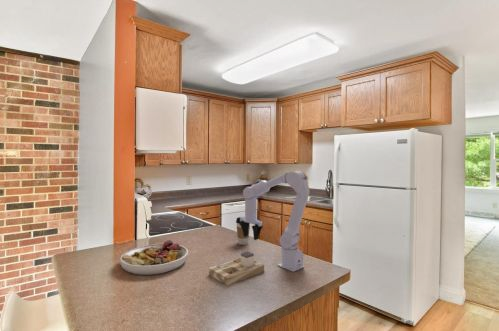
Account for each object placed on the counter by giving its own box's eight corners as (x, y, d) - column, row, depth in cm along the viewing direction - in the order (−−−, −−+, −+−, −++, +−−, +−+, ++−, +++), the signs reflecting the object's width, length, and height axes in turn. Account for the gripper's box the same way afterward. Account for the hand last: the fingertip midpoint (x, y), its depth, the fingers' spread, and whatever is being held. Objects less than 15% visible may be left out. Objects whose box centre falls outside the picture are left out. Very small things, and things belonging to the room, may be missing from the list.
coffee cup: (244, 246, 155) (244, 219, 154) (232, 243, 160) (232, 217, 160) (253, 242, 162) (253, 217, 161) (242, 240, 167) (242, 215, 166)
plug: (253, 271, 121) (253, 253, 121) (246, 274, 118) (246, 255, 118) (247, 268, 124) (247, 251, 124) (240, 271, 121) (240, 253, 121)
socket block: (264, 271, 121) (264, 264, 121) (227, 285, 108) (227, 277, 108) (244, 263, 131) (244, 256, 130) (209, 274, 117) (209, 267, 117)
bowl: (169, 281, 112) (169, 261, 112) (104, 274, 118) (104, 256, 118) (197, 255, 142) (197, 240, 141) (145, 251, 148) (144, 236, 147)
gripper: (235, 209, 140) (235, 236, 140) (254, 214, 129) (254, 242, 129) (246, 207, 145) (245, 233, 145) (265, 212, 134) (265, 239, 134)
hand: (250, 237), depth 138 cm, fingers open, 7 cm apart
